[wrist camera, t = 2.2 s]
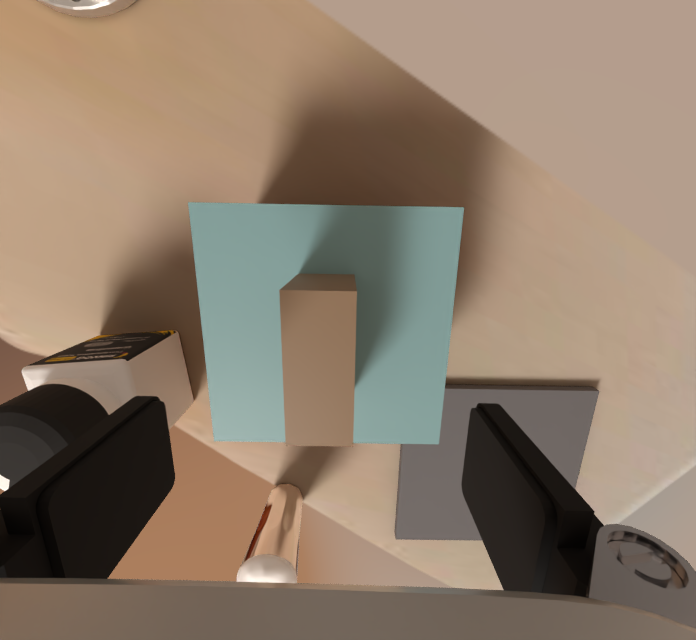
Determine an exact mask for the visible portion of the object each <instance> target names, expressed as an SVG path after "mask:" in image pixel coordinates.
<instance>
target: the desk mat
mask: <svg viewBox="0 0 696 640" xmlns="http://www.w3.org/2000/svg"><path fill="white" fill-rule="evenodd" d="M598 394H599V391H598V390H597V389H595V388H594V387H570V386H505V385H445V391H444V400H443V410H442V419H441V428H440V438H439V444H401V450H400V464H399V478H398V492H397V506H396V521H395V538H396V539H411V540H482V538H481V536H480V533H479V531H478V529H477V526H476V524H475V522H474V519H473V517H472V515H471V513H470V510H469V508H468V506H467V503H466V501H465V499H464V496H463V493H462V485H461V484H462V474H463V466H464V458H465V450H466V442H467V434H468V426H469V418H470V411H471V409H472V408H476V406H477V404H478V403H497V404H499V405H501V406H502V408H503V409H504V410H505V411H506V412H507V413H508V414H509V415H510V417H511V418H512V419H513V420H514V421H515V422H516V423H517V425H518V426H519V427H520V428H521V429H522V430H523V431H524V432H525V434H526V435H527V436H528V437H529V438H530V439H531V440H532V441H533V443H534V444H535V445H536V446H537V447H538V448H539V449H540V451H541V452H542V453H543V454H544V455H545V456H546V457H547V458H548V460H549V461H550V462H551V463H552V464H553V465H554V466H555V468H556V469H557V470H558V471H559V472H560V473H561V474H562V475H563V477H564V478H565V479H566V480H567V481H568V482H569V483H570V484H571V486H572V487H573V488H574V489H575V487H576V483H577V479H578V475H579V471H580V467H581V463H582V459H583V455H584V451H585V446H586V442H587V438H588V434H589V430H590V426H591V422H592V418H593V414H594V410H595V406H596V402H597V398H598Z"/></svg>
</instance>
